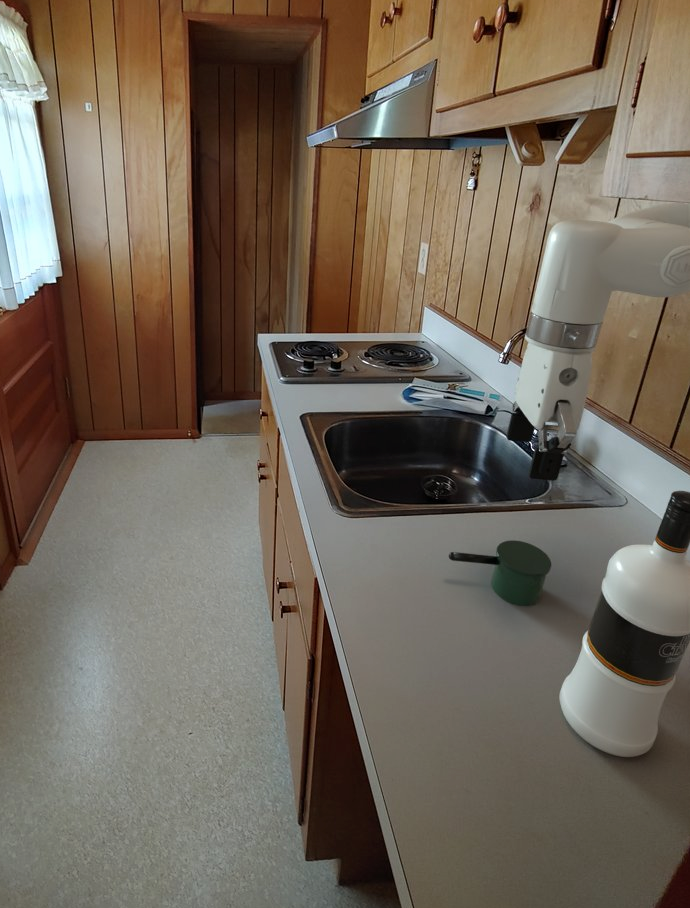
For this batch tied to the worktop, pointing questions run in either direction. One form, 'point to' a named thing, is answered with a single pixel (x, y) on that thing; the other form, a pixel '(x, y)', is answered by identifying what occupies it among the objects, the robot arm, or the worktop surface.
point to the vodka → (634, 640)
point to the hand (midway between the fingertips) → (529, 458)
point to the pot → (514, 570)
